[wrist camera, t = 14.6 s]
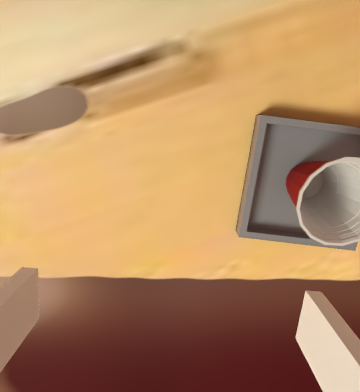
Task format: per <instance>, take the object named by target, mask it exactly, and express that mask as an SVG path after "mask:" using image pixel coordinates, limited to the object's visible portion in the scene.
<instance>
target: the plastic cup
mask: <svg viewBox="0 0 360 392" xmlns="http://www.w3.org/2000/svg"><path fill="white" fill-rule="evenodd" d="M286 188H287V192H288V194H289V195H290V198H291V200H292V201H293V203H294V205H295V206H296V210H297V214H298V219H299V223H300V226H301V227H302V228H303V230H304V231H305V232H306V233H307V235H308V236H309V237H310V238H312V239H314V240H316V241H318V242H320V243H322V244H324V245H336V246H344V245H347V244H351V243H354V242H358V241H360V158H357V157H343V158H340V159H337V160H331V161H312V162H304V163H301V164H298V165H296V166H295V167H294V168H293V169H291V170H290V172H289V174H288V175H287V178H286Z"/></svg>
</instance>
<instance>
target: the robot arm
mask: <svg viewBox="0 0 360 392" xmlns="http://www.w3.org/2000/svg"><path fill="white" fill-rule="evenodd" d="M39 318H40V310H39V285H38V269H37V268H24V267H22V268H21V269H20V270H19V271H18V272H17V273H15V274H14V275H13V276H12V277H11V278H10V279H9V280H8V281H7V282H6V283H5V284H3V286H1V288H0V372H1V371H2V369H3V368H4V366H5V365H6V364H7V362H8V361H9V359H10V358H11V357H12V355H13V354H14V353H15V351H16V350H17V348H18V347H19V346H20V344H21V343H22V341H23V340H24V339H25V337H26V336H27V334H28V333H29V332H30V330H31V329H32V328H33V326H34V325H35V323H36V322H37V321H38V319H39ZM296 340H297V342H298V344H299V346H300V348H301V350H302V352H303V354H304V355H305V358H306V359H307V361H308V363H309V365H310V367H311V369H312V371H313V373H314V375H315V377H316V379H317V381H318V383H319V385H320V387H321V389H322V391H323V392H360V340H359V339H358V337H357V336H356V335H355V334H354V332H353V331H352V330H351V329H350V328H349V326H348V325H347V324H346V322H345V321H344V320H343V319H342V318H341V316H340V315H339V314H338V312H337V311H336V310H335V309H334V307H333V306H332V305H331V303H330V302H329V301H328V300H327V298H326V297H325V296H324V295H323V293H322V292H316V291H306V292H305V296H304V302H303V306H302V310H301V315H300V320H299V325H298V329H297V334H296Z"/></svg>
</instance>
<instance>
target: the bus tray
mask: <svg viewBox="0 0 360 392" xmlns="http://www.w3.org/2000/svg"><path fill="white" fill-rule="evenodd" d="M343 157H357V158H360V127H353V126H345V125H337V124H329V123H321V122H313V121H305V120H298V119H290V118H282V117H274V116H266V115H256V119H255V125H254V131H253V136H252V142H251V147H250V153H249V159H248V164H247V170H246V175H245V181H244V187H243V192H242V198H241V203H240V209H239V215H238V220H237V226H236V232H237V234H238V236H239V237H243V238H252V239H260V240H269V241H277V242H286V243H294V244H303V245H311V246H320V247H328V248H337V249H345V250H354V251H355V250H356V246H357V243H358V242H354V243H351V244H347V245H344V246H336V245H324V244H322V243H320V242H318V241H316V240H314V239H312V238H310V237H309V236H308V235H307V233H306V232H305V231H304V230H303V228H302V227H301V226H300V223H299V219H298V214H297V210H296V206H295V205H294V203H293V201H292V200H291V198H290V195H289V194H288V192H287V188H286V178H287V175H288V174H289V172H290V170H291V169H293V168H294V167H295V166H296V165H298V164H301V163H304V162H312V161H331V160H337V159H340V158H343Z"/></svg>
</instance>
